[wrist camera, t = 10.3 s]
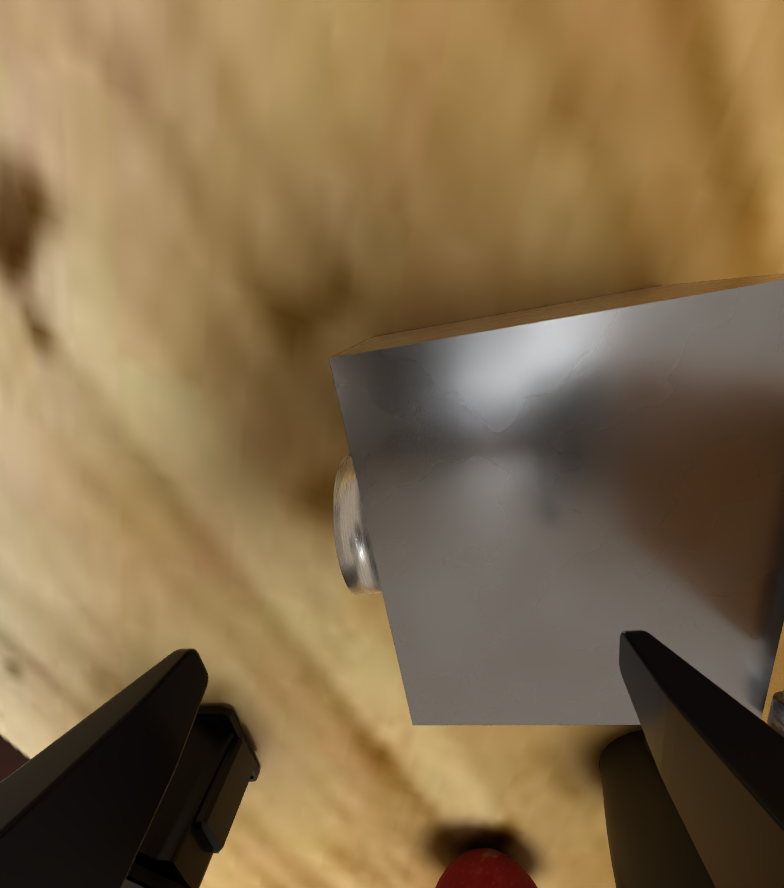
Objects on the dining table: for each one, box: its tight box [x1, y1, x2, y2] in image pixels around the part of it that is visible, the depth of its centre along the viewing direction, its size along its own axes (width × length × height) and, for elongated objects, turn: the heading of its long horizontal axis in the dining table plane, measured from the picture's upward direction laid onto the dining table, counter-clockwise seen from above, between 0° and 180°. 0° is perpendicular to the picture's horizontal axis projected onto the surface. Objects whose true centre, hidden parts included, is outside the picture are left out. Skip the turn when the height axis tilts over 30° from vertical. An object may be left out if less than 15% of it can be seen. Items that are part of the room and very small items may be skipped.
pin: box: [333, 455, 382, 595], centre depth 12 cm, size 15×5×5 cm, turn 100°
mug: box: [599, 731, 716, 888], centre depth 15 cm, size 8×12×10 cm
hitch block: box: [329, 274, 784, 737], centre depth 12 cm, size 11×12×7 cm
